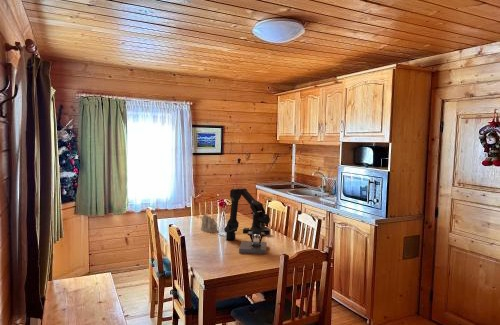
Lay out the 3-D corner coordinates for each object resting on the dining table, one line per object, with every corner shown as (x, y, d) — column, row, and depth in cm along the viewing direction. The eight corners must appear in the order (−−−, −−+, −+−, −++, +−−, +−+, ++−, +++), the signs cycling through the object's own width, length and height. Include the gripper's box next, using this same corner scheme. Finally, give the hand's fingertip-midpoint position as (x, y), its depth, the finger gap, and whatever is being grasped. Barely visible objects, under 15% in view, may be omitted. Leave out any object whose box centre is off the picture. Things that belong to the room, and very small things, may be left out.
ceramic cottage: (210, 233, 280) (211, 214, 280) (197, 230, 291) (197, 212, 291) (224, 230, 292) (224, 212, 292) (210, 227, 303) (211, 210, 303)
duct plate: (238, 253, 235) (239, 248, 234) (241, 244, 253) (241, 240, 252) (265, 254, 233) (265, 250, 233) (266, 246, 251) (266, 242, 251)
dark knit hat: (266, 227, 274) (269, 219, 288) (247, 227, 278) (251, 219, 292) (266, 238, 277) (270, 230, 291) (248, 238, 280) (252, 230, 294)
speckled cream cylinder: (252, 244, 245) (253, 233, 245) (259, 245, 245) (260, 234, 244) (252, 247, 240) (252, 235, 240) (259, 247, 240) (259, 236, 239)
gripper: (242, 223, 234) (241, 246, 235) (270, 224, 232) (269, 247, 234) (243, 219, 245) (243, 241, 246) (270, 220, 243) (269, 242, 245)
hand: (256, 243), depth 242 cm, fingers closed on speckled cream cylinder, 5 cm apart
